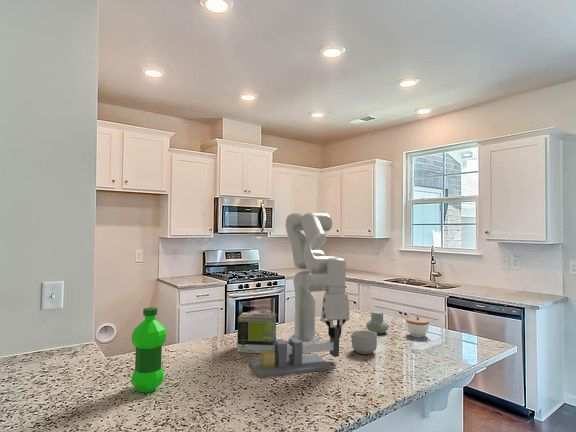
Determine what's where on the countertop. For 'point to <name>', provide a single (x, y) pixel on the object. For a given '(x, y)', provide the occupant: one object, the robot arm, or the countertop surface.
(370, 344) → the teacup
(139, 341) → the plastic bottle
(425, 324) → the lidded jar
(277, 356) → the bracket
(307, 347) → the shaft
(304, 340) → the robot arm
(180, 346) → the countertop surface
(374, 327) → the air freshener
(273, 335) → the tea box
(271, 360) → the block
